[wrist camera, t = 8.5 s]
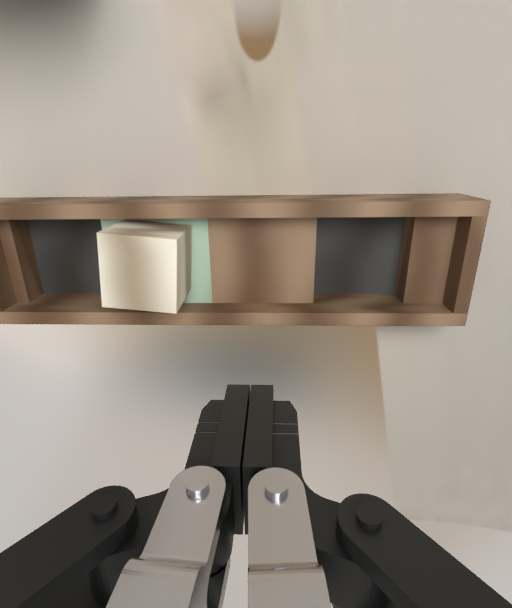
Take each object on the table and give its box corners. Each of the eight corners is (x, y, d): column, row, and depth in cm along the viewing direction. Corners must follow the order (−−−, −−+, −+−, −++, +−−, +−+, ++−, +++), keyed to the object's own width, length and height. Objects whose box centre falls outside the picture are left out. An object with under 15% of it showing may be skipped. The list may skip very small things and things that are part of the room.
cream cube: (192, 225, 29) (176, 239, 24) (191, 288, 30) (176, 313, 26) (125, 219, 29) (96, 232, 24) (128, 283, 30) (102, 306, 26)
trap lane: (459, 193, 29) (490, 200, 25) (440, 303, 33) (465, 326, 28) (0, 197, 31) (-43, 205, 27) (26, 302, 34) (-8, 323, 30)
